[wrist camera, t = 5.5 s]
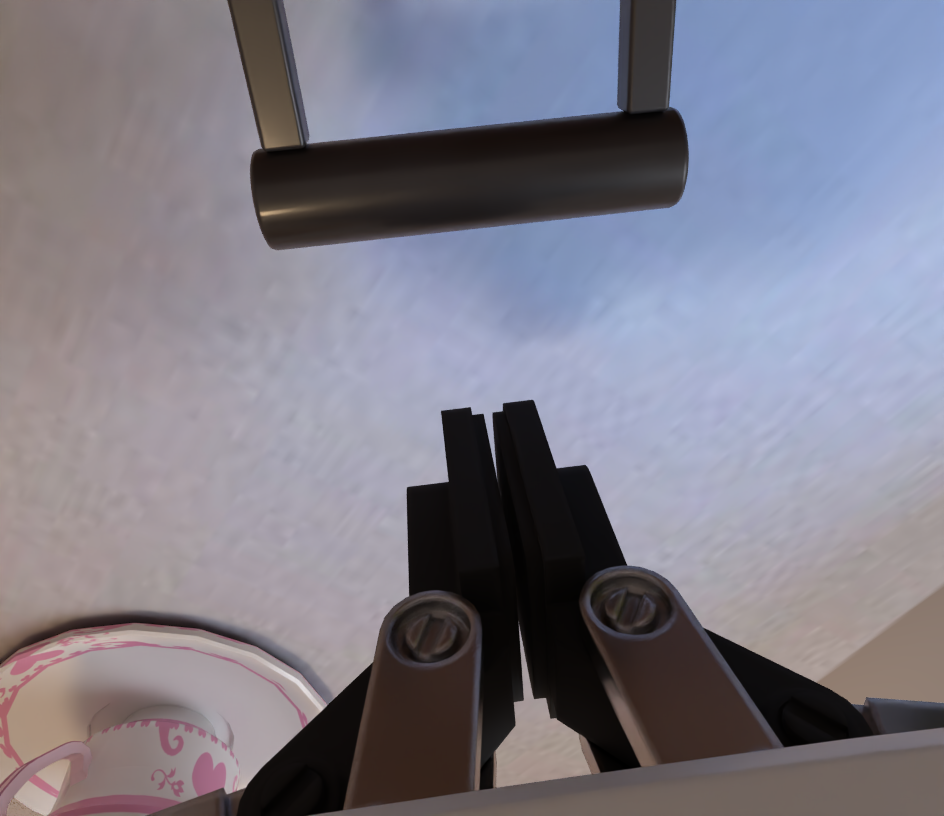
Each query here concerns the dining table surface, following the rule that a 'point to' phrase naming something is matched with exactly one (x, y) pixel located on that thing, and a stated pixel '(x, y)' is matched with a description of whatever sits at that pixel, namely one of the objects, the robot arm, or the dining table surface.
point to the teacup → (141, 718)
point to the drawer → (460, 150)
